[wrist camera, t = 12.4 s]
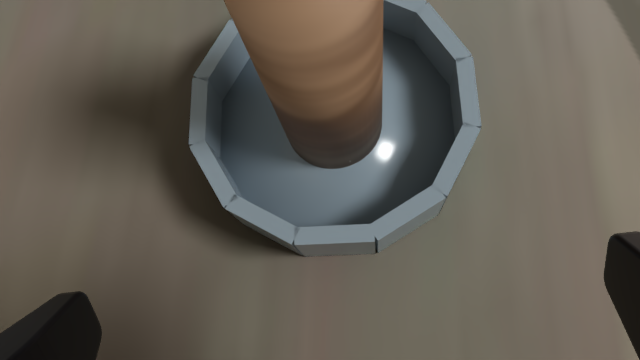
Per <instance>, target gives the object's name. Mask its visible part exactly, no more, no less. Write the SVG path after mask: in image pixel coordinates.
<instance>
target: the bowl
mask: <svg viewBox="0 0 640 360" xmlns="http://www.w3.org/2000/svg"><path fill="white" fill-rule="evenodd" d="M426 2H427V1H425V0H384V1H383V90H382V129H381V134H380V137H379V140H378V142H377V144H376V145H375V147H374V148H373V150H372V151H371V152H370V153H369V154H368V155H367V156H366V157H365V158H364V159H362V160H361V161H359V162H357V163H355V164H353V165H351V166H348V167H344V168H338V169H326V168H320V167H317V166H314V165H312V164H310V163H308V162H306V161H305V160H303V159H302V158H301V157H300V156H299V155H298V154H297V153H296V152H295V151H294V149H293V148H292V146H291V144H290V142H289V140H288V138H287V136H286V134H285V131H284V129H283V127H282V125H281V123H280V121H279V118H278V116H277V114H276V112H275V110H274V108H273V106H272V103H271V101H270V99H269V97H268V95H267V93H266V90H265V88H264V86H263V84H262V82H261V80H260V78H259V75H258V73H257V71H256V69H255V67H254V65H253V62H252V60H251V58H250V56H249V54H248V52H247V50H246V47H245V45H244V43H243V41H242V39H241V37H240V34H239V32H238V30H237V28H236V26H235V24H234V22H233V19H232V18H231V19H232V21H231V20H229V21H228V23H227V24H226V26H225V27H224V29H223V30H222V32H221V33H220V35H219V36H218V38H217V40H216V41H215V43H214V44H213V46H212V47H211V49H210V50H209V52H208V53H207V55H206V56H205V58H204V60H203V61H202V63H201V64H200V66H199V67H198V69H197V70H196V72H195V73H194V75H193V76H194V78H192V92H191V110H190V128H189V145H190V149H191V151H192V153H193V154H194V156H195V158H196V160H197V161H198V163H199V165H200V167H201V169H202V170H203V172H204V174H205V176H206V177H207V179H208V181H209V183H210V185H211V186H212V188H213V190H214V192H215V193H216V195H217V197H218V199H219V201H220V202H221V204H222V206H223V207H224V208H225V209H226V210H227V211H228V212H229V213H231V214H232V215H233V216H234V217H235V218H237V219H238V220H239V221H240V222H241V223H243V224H244V225H246V226H248V227H250V228H251V229H253V230H255V231H257V232H259V233H261V234H263V235H264V236H266V237H268V238H270V239H272V240H274V241H276V242H277V243H279V244H281V245H283V246H285V247H287V248H289V249H290V250H292V251H294V252H296V253H298V254H300V255H302V256H303V255H304V256H305V257H307V256H332V255H357V254H376V253H375V249H376V251H377V252H378V253H379V252H380V251H382V250H384V249H385V248H387V247H388V246H390V245H391V244H393V243H395V242H396V241H398V240H399V239H401V238H402V237H404V236H406V235H407V234H409V233H410V232H412V231H414V230H415V229H417V228H418V227H420V226H421V225H423V224H425V223H426V222H428V221H429V220H431V219H432V218H434V217H436V216H437V215H438V213H440V211H441V209H442V207H443V205H444V203H445V201H446V199H447V197H448V195H449V193H450V190H451V188H452V186H453V184H454V182H455V180H456V178H457V176H458V174H459V172H460V170H461V168H462V166H463V164H464V162H465V160H466V158H467V156H468V154H469V152H470V150H471V148H472V146H473V144H474V142H475V140H476V138H477V136H478V134H479V132H480V129H481V119H480V110H479V102H478V94H477V86H476V78H475V70H474V62H473V57H471V55H472V54H471V53H470V52H469V50H468V49H467V48H466V47H465V46H464V44H463V43H462V42H461V41H460V40H459V38H458V37H457V36H456V35H455V34H454V32H453V31H452V30H451V29H450V28H449V26H448V25H447V24H446V23H445V22H444V20H443V19H442V18H441V17H440V16H439V14H438V13H437V12H436V11H435V10H434V8H433V7H432V6H431V5H430V4H429V2H428V3H427V4H426Z"/></svg>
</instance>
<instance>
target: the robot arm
mask: <svg viewBox="0 0 640 360" xmlns="http://www.w3.org/2000/svg"><path fill="white" fill-rule="evenodd" d="M604 282H605V286H606V289H607V291H608V293H609V295H610V297H611V300H612V302H613V304H614V306H615V308H616V310H617V313H618V315H619V317H620V319H621V321H622V323H623V325H624V328H625V330H626V332H627V334H628V336H629V338H630V341H631V343H632V345H633V347H634V349H635V351H636V353H637V356H638V358H639V360H640V232H626V233H617V234H614V235H612V236H611V237H610V239H609V242H608V247H607V254H606V261H605V269H604ZM101 336H102V331H101V326H100V323H99V321H98V318H97V316H96V314H95V312H94V310H93V307H92V305H91V303H90V301H89V299H88V297H87V295H86V294H85V293H83V292H80V291H78V292H68V293H61V294H58V295H56V296H55V297H53V298H52V299H50V300H49V301H47V302H46V303H44V304H43V305H41V306H40V307H39V308H37V309H36V310H34V311H33V312H31V313H30V314H28V315H27V316H25V317H24V318H22V319H21V320H19V321H18V322H16V323H15V324H13V325H12V326H10V327H9V328H8V329H6V330H5V331H3V332H2V333H0V360H96V357H97V353H98V349H99V346H100V342H101Z"/></svg>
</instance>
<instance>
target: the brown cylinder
mask: <svg viewBox="0 0 640 360" xmlns="http://www.w3.org/2000/svg"><path fill="white" fill-rule="evenodd" d="M383 1H384V0H224V2H225V4H226V6H227V9H228V11H229V13H230V15H231V17H232V19H233V22H234V24H235V26H236V28H237V30H238V32H239V34H240V37H241V39H242V41H243V43H244V45H245V47H246V50H247V52H248V54H249V56H250V58H251V60H252V62H253V65H254V67H255V69H256V71H257V73H258V75H259V78H260V80H261V82H262V84H263V86H264V88H265V90H266V93H267V95H268V97H269V99H270V101H271V103H272V106H273V108H274V110H275V112H276V114H277V116H278V118H279V121H280V123H281V125H282V127H283V129H284V131H285V134H286V136H287V138H288V140H289V142H290V144H291V146H292V148H293V149H294V151H295V152H296V153H297V154H298V155H299V156H300V157H301V158H302V159H303V160H305V161H306V162H308V163H310V164H312V165H314V166H317V167H320V168H326V169H338V168H344V167H348V166H351V165H353V164H355V163H357V162H359V161H361V160H362V159H364V158H365V157H366V156H367V155H368V154H369V153H370V152H371V151H372V150H373V148H374V147H375V145H376V144H377V142H378V140H379V137H380V134H381V129H382V90H383Z"/></svg>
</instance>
